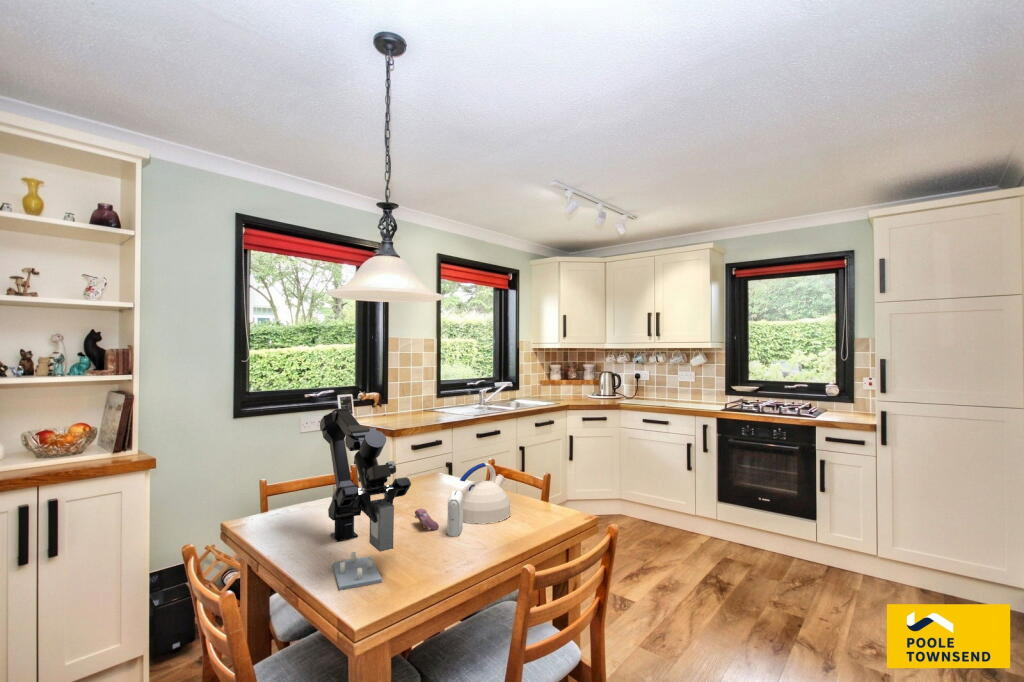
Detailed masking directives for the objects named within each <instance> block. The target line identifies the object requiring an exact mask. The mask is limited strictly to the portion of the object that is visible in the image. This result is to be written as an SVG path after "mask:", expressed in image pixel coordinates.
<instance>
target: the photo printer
mask: <svg viewBox="0 0 1024 682" xmlns="http://www.w3.org/2000/svg"><path fill="white" fill-rule="evenodd" d="M461 491H462V490H456V489H454V490H452V492H451V493H450V494H449V497H448V500H447V527H446V528H447V530H446V531H447V535H448V536H449V537H458V536H460V534H461V532H462V529H463V524H464V522H463V494H462V493H461Z"/></svg>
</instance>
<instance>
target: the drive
mask: <svg viewBox="0 0 1024 682" xmlns="http://www.w3.org/2000/svg"><path fill="white" fill-rule="evenodd" d="M371 503H372V506H373V509H374V512H375V515H376V519H377V522H376V523H374V522H373V521H372V520H371V519H370V518H369V536H368V537H369V544H370V545H371V546H372V547H373V548H375V549H376V550H377V551H378V552H380V553H381V552H384V551H389V550H392V549H394V534H395V533H394V529H395V528H394V527H395V525H394V522H395V519H394V517H395V505H394V503H393V504H391V503H389V502H388V501H386V500H385V499H384V498H379V499H378V498H377V499H374V500H371Z"/></svg>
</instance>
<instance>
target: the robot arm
mask: <svg viewBox="0 0 1024 682" xmlns="http://www.w3.org/2000/svg"><path fill="white" fill-rule="evenodd" d="M319 430H320V431H321V433H322V437H323V439H324V440H325V442H327V443H328V444H329V448H330V449H329V450H330V457H331V461H332V468H333V475H334V481H335V489H334V491H333V494H332V496H331V502H330V505H329V506H328V509H327V513H328V518H330V519H331V520H332V521H334V532H331V533H330V536H331V537H332V538H333V539H334V540H335V541H336V542H341V541H344V540H349V539H354V538H358V537H359V534H358V533H356V532H355V517H357V516H361V514H362V512H363V513H364V514H365V515H366V516H367V517H368V518H369V520H370V519H371V520H372V521H373V522H374V523H376V522H377V519H376V515H375V512H374V509H373V506H372V503H371V501H372V499H371V496H376V495H381V494H383V496H384V498H383V499H385V500H386V501H388V502H389V503H391V504H393V505H394V499H395V498H398V497H403V496H405V495H406V494H407V493H408V491H409V489H410V488H411V486H412V482H411V480H410V479H409V477H407V476H405V477H400V478H399V477H398V478H394V480H393V482H392V483H391V484H386V483H387V482H388V478H389V477H391V475H394V474H395V473H396V472H397V466H396V463H395V461H394V460H393V461H392V460H391V461H387V462H386V463H385V464H379V462H378V459H377V458H379V456H380V455H381V453H382V452H383V449H384V447H385V445H386V443H387V436H386V435H385V434H384V433H383V432H381V430H380V431H379V430H377V428H376V427H375V426H374V427H368V426H364V425H361V424H360V423H359V422H358V421H357V419H356V418H355V417H354V415H353V414H352V411H351V409H350V408H335V409H333V410H332V411H331V412H330V413H327V414H325V415H323V417H322V418H321V419H320V422H319ZM347 449H348V451H350V452H354V451H355V452H356V453H355V454H354V456H353V458H354V459H353V464H354V465H355V467H356V470H357V473H358V478H357V480H358V483H360V484H361V487H359V486H358V484H354V483H353V482H352V478H351V471H350V465H349V459H348V454H347ZM385 484H386V485H385Z"/></svg>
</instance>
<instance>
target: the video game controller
mask: <svg viewBox="0 0 1024 682" xmlns="http://www.w3.org/2000/svg"><path fill="white" fill-rule="evenodd" d="M414 518H415V520H416V519H418V521H419V522H420V523H421V525H422V527H423V528H424V529H428V528H429V529H430V530H432V531H437V530H438V529H439V527H440V525H439V523H438V522H437V521H435V520H434V519H432V517H431V516H430V515H429V514H428V512H427V510H426V509H424V508H422V507H420V508H417V509H416V510H415V511H414Z"/></svg>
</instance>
